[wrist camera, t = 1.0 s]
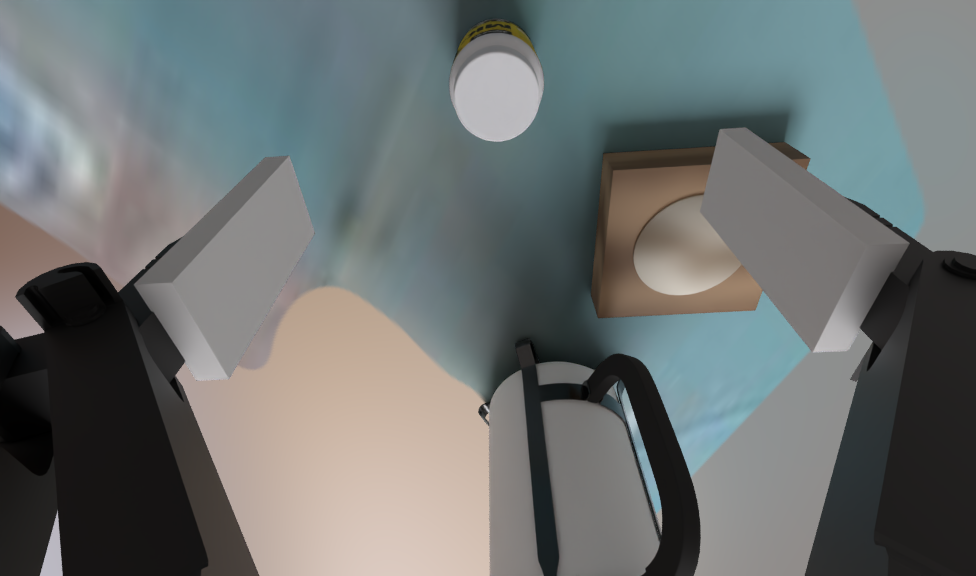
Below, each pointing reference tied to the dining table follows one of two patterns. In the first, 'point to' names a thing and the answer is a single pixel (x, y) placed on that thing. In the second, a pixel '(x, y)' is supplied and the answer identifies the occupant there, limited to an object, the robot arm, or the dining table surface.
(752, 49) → the dining table surface
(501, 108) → the supplement bottle
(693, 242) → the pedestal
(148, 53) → the dining table surface
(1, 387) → the robot arm
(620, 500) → the coffee press
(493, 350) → the dining table surface
